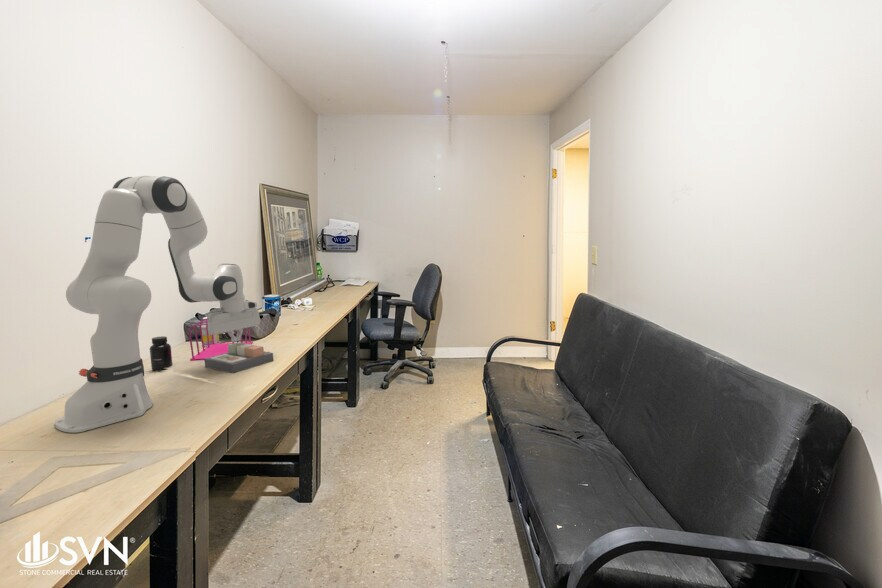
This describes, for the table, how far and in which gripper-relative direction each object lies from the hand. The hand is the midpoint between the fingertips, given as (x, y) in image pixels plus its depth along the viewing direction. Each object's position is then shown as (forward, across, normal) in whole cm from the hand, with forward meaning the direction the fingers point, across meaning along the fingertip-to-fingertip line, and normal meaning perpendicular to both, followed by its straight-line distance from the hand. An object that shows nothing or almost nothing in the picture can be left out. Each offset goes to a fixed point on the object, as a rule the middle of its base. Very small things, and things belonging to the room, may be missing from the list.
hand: (236, 341), depth 180 cm
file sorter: (+9, +5, +18) cm, 20 cm away
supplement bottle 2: (+9, +11, +36) cm, 39 cm away
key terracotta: (+5, 0, -11) cm, 12 cm away
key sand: (+5, 0, -6) cm, 8 cm away
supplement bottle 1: (+8, -19, +19) cm, 28 cm away
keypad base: (+8, -3, -6) cm, 10 cm away
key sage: (+5, 0, 0) cm, 5 cm away
